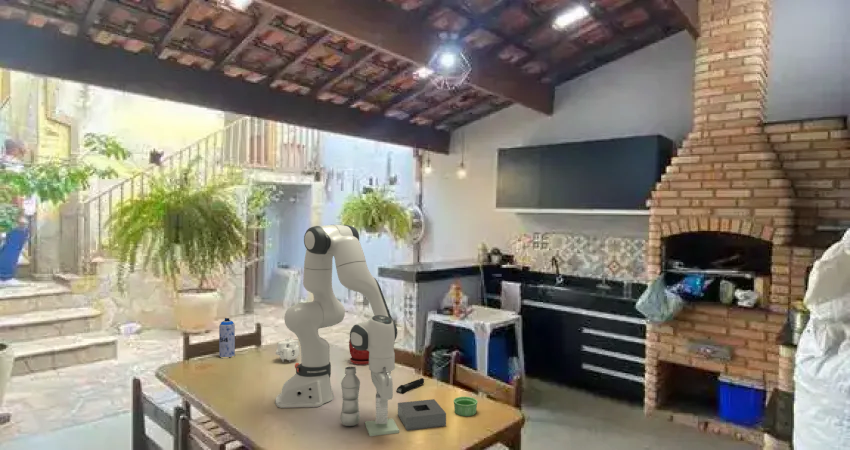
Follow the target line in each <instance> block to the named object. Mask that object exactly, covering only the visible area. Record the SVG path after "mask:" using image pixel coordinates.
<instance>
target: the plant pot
mask: <svg viewBox="0 0 850 450" xmlns="http://www.w3.org/2000/svg"><path fill="white" fill-rule="evenodd" d="M348 340H349V341H348V347H349V353H350V359H349V361H350V363H352V364H355V365H357V366H360V365H361V366H363V365H369V351H368V350H363V351H361V350H356V349H355V348H354V347H353V346H352V344H351V342H350V338H349V339H348Z"/></svg>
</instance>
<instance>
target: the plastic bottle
mask: <svg viewBox="0 0 850 450" xmlns="http://www.w3.org/2000/svg"><path fill="white" fill-rule="evenodd" d="M344 369H345V370H344V374H345V375H344V377H343V378H342V380H341V382H340V387H341V393H342V397H341V398H342V406H341V413H340V422H341V424H342V425H343V426H345V427H353V426H357V425H358V424H359V422H360V419H361V416H360V414H361V413H360V410H359V409H360V408H359V396H360V395H359V394H360V387H361V382H360V379H359V377H358V376H357V375H356V374H357V368H356V366H346V367H345V368H344Z"/></svg>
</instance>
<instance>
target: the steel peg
mask: <svg viewBox="0 0 850 450" xmlns="http://www.w3.org/2000/svg"><path fill="white" fill-rule="evenodd" d="M380 401H381V397H380V395H379V393H377V392H376V393H375V420H376V424H387V422H388V419H389V417H388V416H389V415H388V408H389V405H388V404H389V400H387V402H386V407H385V408H382V407H381V405H380Z"/></svg>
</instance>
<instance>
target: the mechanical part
mask: <svg viewBox="0 0 850 450" xmlns="http://www.w3.org/2000/svg"><path fill="white" fill-rule="evenodd" d="M300 352H301V346H300V345H299V339H294V337H293V336H290V337H287V338H286V337H285V339H284V340H282V341H279V342H277V348H276V350H275V355H277V356H279V359H281V361H282V363H284V362H285V360H287V361H288V362H289V363H291V361H294V360H296V359H298V358H299V356H300Z"/></svg>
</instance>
